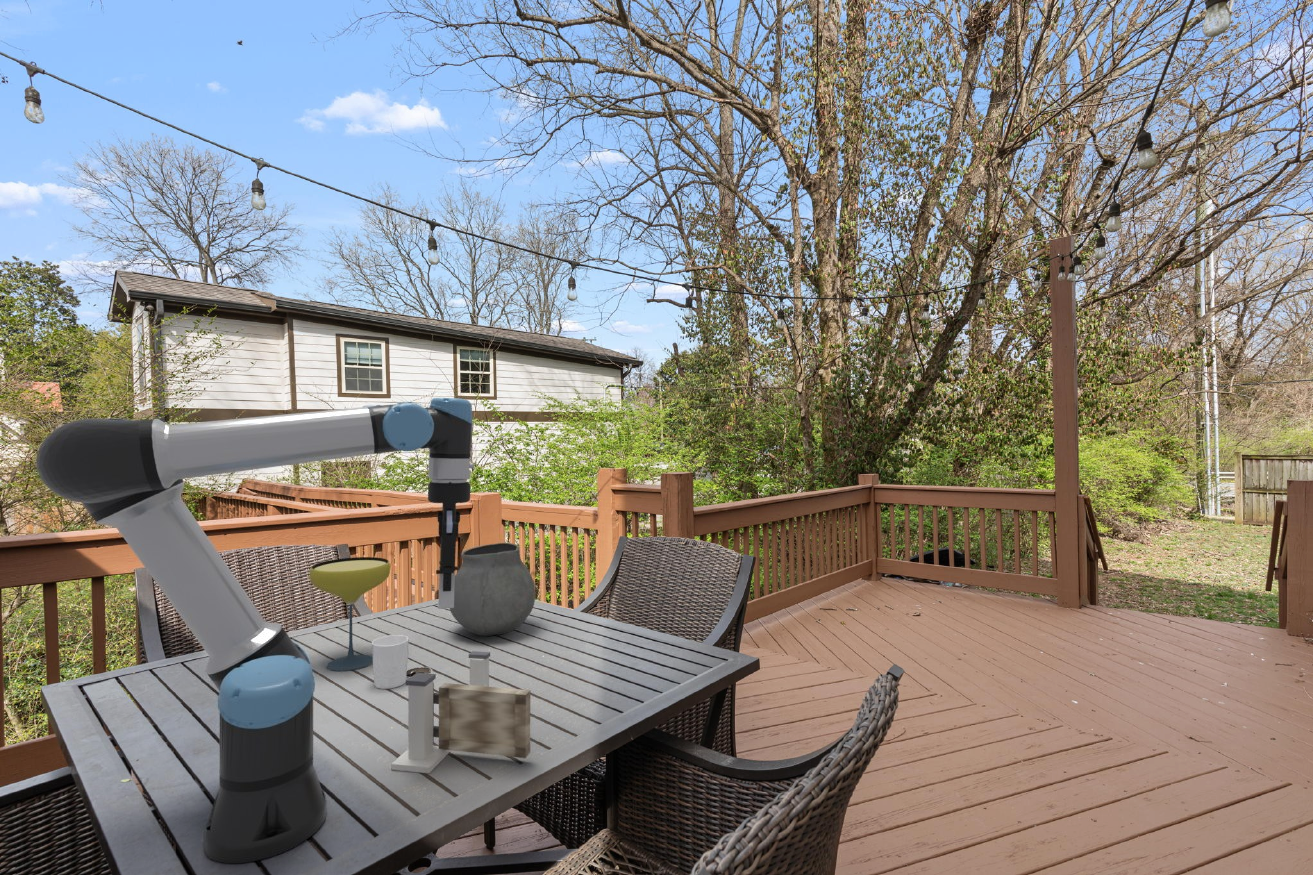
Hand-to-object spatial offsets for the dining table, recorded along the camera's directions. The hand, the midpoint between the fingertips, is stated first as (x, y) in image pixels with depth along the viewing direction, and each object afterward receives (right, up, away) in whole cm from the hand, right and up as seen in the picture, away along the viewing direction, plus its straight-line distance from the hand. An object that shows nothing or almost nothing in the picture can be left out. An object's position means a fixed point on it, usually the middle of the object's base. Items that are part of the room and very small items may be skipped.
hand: (446, 607), depth 117 cm
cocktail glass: (-37, -25, +40) cm, 61 cm away
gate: (+7, -24, -5) cm, 25 cm away
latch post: (+1, -25, +17) cm, 31 cm away
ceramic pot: (-8, -25, +65) cm, 70 cm away
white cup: (-22, -25, +28) cm, 44 cm away
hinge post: (-2, -25, -6) cm, 26 cm away
